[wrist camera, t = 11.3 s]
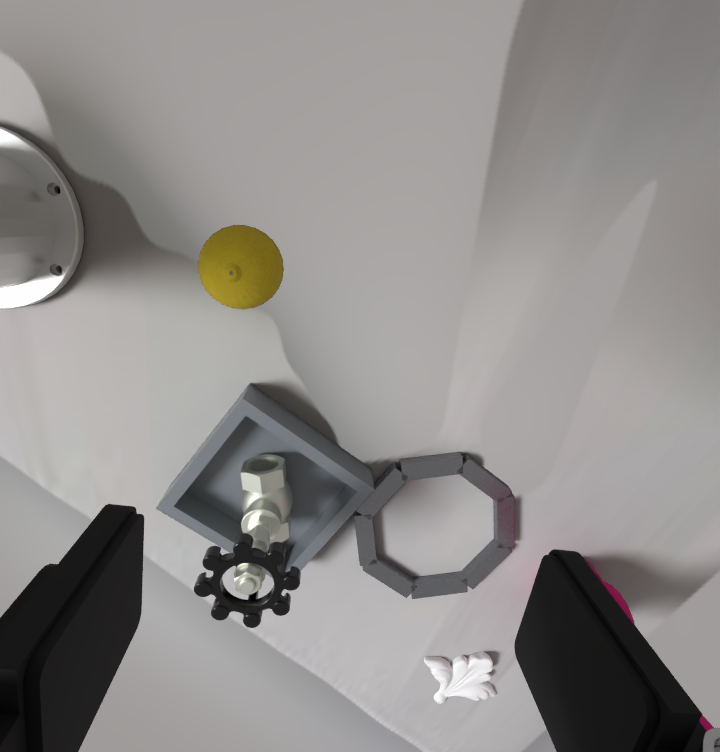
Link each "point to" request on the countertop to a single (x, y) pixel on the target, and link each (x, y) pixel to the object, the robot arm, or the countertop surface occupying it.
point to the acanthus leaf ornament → (462, 676)
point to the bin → (303, 473)
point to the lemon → (240, 267)
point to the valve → (255, 546)
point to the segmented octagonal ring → (428, 469)
